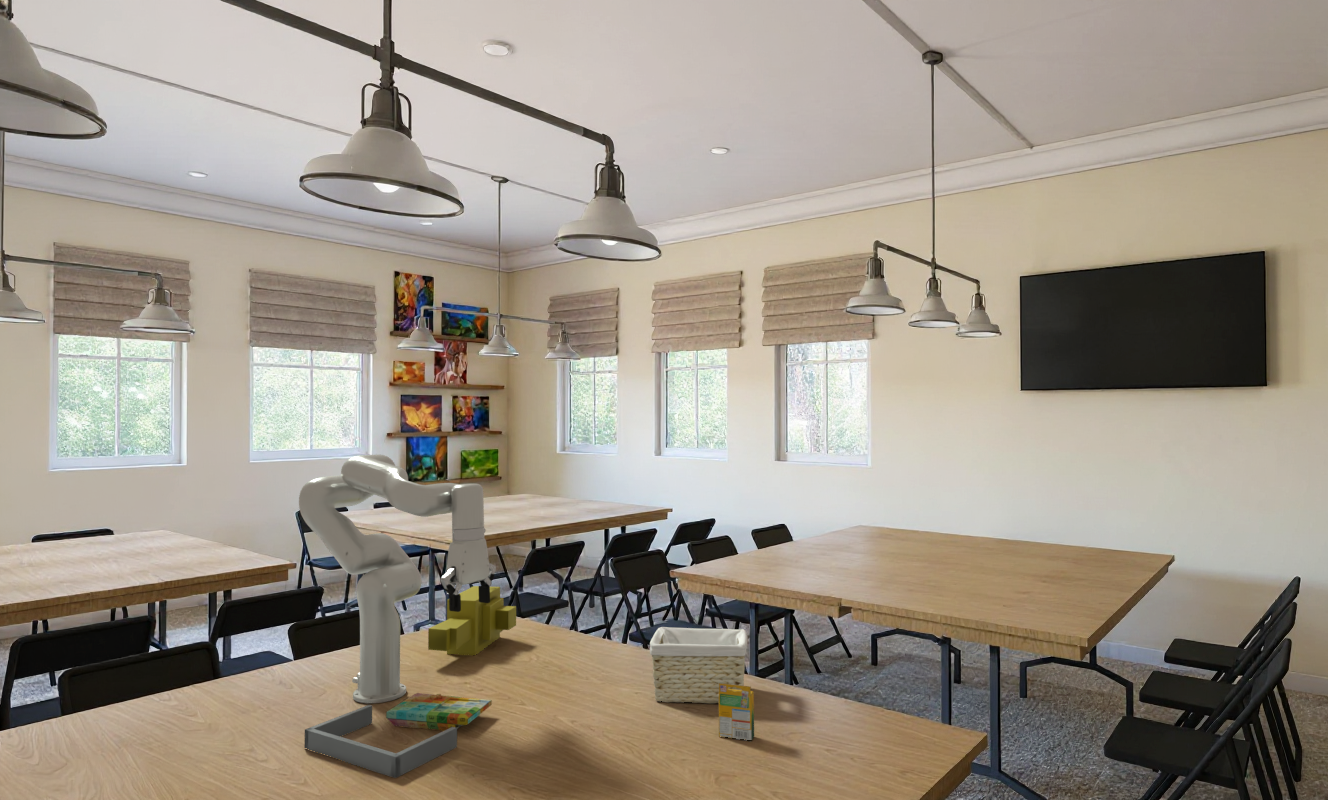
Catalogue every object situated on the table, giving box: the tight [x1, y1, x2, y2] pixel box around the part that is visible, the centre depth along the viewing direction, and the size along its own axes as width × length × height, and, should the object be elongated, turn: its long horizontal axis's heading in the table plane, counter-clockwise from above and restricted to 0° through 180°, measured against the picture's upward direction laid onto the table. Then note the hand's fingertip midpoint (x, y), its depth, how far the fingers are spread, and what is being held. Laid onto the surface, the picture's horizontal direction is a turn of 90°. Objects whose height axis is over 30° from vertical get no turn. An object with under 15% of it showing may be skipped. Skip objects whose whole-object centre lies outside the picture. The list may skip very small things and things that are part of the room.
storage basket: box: [649, 626, 749, 704], centre depth 192 cm, size 24×16×15 cm
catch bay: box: [303, 704, 458, 779], centre depth 160 cm, size 27×16×4 cm, turn 60°
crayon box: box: [718, 683, 755, 741], centre depth 165 cm, size 7×3×12 cm, turn 71°
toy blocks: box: [427, 585, 517, 656], centre depth 229 cm, size 35×16×16 cm
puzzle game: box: [385, 692, 493, 732], centre depth 175 cm, size 12×5×20 cm
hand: (470, 606), depth 183 cm, fingers open, 9 cm apart
